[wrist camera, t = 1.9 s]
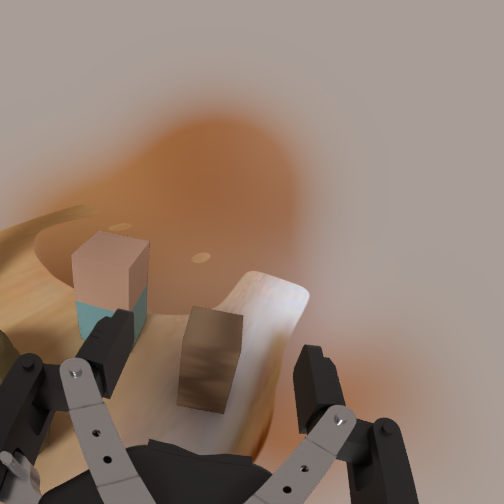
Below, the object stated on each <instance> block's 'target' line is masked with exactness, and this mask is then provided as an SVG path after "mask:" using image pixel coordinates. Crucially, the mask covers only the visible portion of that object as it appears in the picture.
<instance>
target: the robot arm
mask: <svg viewBox="0 0 504 504" xmlns="http://www.w3.org/2000/svg"><path fill="white" fill-rule="evenodd" d="M134 337H135V335H134V313H133V312H132V311H128V310H124V309H120V308H118V309H117V310H116V311H115V313H114V315H113V316H112V317H108V316H105V317H104V318H102V319H101V320H99V321H98V322H97V323H96V325H95V326H94V328H93V330H92V331H91V333H90V334H89V336H88V337H87V339H86V340H85V342H84V344H83V345H82V347H81V348H80V350H79V352H78V353H77V355H76V356H75V358H69V359H67V360H65V361H64V362H63V363H62V364H61V365H52V364H43V362H42V360H41V358H40V357H39V356H37V355H35V354H32V353H27V354H23V355H21V356H20V357H18V358H17V360H16V361H15V363H14V364H13V366H12V367H11V369H10V370H9V372H8V374H7V375H6V377H5V379H4V380H3V382H2V383H1V385H0V504H303V503H304V502H305V500H306V499H307V498H308V496H309V495H310V494H311V493H312V491H313V490H314V489H315V487H316V486H317V485H318V483H319V482H320V480H321V479H322V478H323V476H324V475H325V474H326V472H327V471H328V469H329V468H330V466H331V464H332V463H333V462H334V460H335V459H339V460H342V461H346V463H347V470H348V479H349V488H350V497H351V504H419V502H418V498H417V493H416V489H415V484H414V480H413V476H412V472H411V468H410V464H409V460H408V456H407V453H406V449H405V446H404V442H403V438H402V434H401V431H400V428H399V426H398V425H397V424H396V423H395V422H394V421H393V420H391V419H389V418H379V419H377V420H376V421H375V422H374V423H370V422H367V421H363V420H360V419H357V418H356V416H355V414H354V413H353V411H352V410H351V409H349V408H348V407H346V405H345V401H344V397H343V393H342V389H341V386H340V383H339V378H338V376H337V371H336V367H335V365H334V364H333V362H332V361H331V360H330V358H326V357H323V353H322V349H321V347H320V346H314V345H304V346H303V348H302V351H301V353H300V356H299V358H298V360H297V363H296V365H295V367H294V372H293V383H294V391H295V400H296V408H297V417H298V426H299V433H300V434H307V437H305V438H304V440H303V441H302V442H301V443H300V444H299V446H298V447H297V448H296V449H295V450H294V451H293V453H292V454H291V455H290V456H289V457H288V458H287V459H286V461H285V462H284V463H283V464H282V465H281V466H280V467H279V469H278V470H277V471H276V472H275V473H274V474H272V473H270V472H269V471H268V470H266V469H264V468H263V467H261V466H258V465H256V464H253V463H252V457H251V456H241V455H232V454H218V455H197V454H195V453H192V452H190V451H187V450H185V449H183V448H180V447H178V446H176V445H173V444H168V443H164V442H160V441H155V440H151V439H149V442H148V445H138V446H132V447H129V448H126V449H125V448H124V446H123V444H122V441H121V439H120V437H119V435H118V433H117V431H116V428H115V426H114V424H113V421H112V419H111V417H110V414H109V412H108V410H107V407H106V405H105V403H104V402H103V400H102V397H104V398H107V399H110V398H111V396H112V393H113V391H114V388H115V386H116V384H117V381H118V379H119V377H120V375H121V372H122V370H123V368H124V366H125V363H126V361H127V359H128V357H129V354H130V352H131V350H132V348H133V344H134ZM55 411H68V412H69V413H70V416H71V420H72V423H73V426H74V429H75V432H76V435H77V438H78V441H79V444H80V446H81V449H82V452H83V455H84V457H85V460H86V462H87V465H88V467H89V469H88V470H87V471H85V472H83V473H81V474H80V475H78V476H76V477H74V478H72V479H70V480H68V481H67V482H65V483H63V484H61V485H59V486H57V487H55V488H53V489H51V490H49V491H48V492H46V493H45V494H44V495H43V496H42V495H41V492H40V476H39V473H38V471H37V470H36V469H35V468H34V464H35V461H36V458H37V456H38V453H39V450H40V448H41V445H42V442H43V440H44V437H45V435H46V432H47V430H48V427H49V425H50V423H51V420H52V418H53V416H54V413H55Z"/></svg>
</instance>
